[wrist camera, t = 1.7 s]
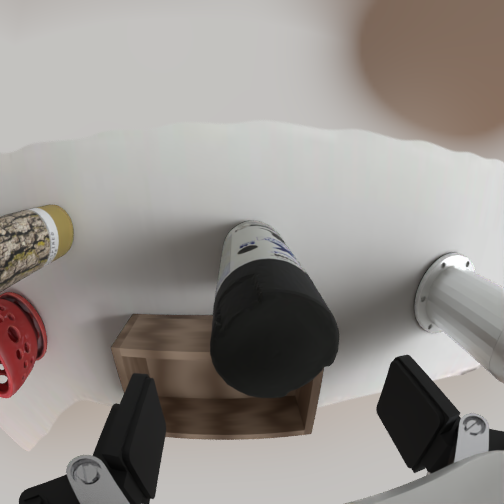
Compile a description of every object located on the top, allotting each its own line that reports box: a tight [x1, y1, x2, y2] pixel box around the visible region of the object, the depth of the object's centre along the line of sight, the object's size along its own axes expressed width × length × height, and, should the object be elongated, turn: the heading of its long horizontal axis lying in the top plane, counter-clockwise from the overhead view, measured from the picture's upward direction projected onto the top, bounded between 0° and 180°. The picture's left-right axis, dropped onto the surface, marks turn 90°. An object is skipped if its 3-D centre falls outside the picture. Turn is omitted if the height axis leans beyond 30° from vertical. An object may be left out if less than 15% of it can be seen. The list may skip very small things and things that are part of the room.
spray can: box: [210, 221, 339, 398], centre depth 23 cm, size 7×7×20 cm
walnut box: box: [111, 314, 324, 440], centre depth 32 cm, size 22×14×8 cm, turn 90°
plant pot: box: [0, 292, 47, 398], centre depth 28 cm, size 13×13×12 cm
